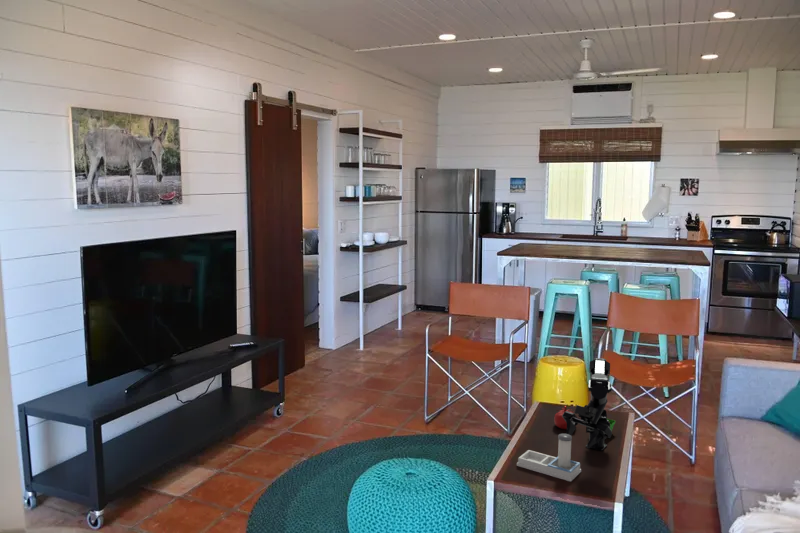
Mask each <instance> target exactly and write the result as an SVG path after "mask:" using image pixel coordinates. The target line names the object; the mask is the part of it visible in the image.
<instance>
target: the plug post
mask: <svg viewBox="0 0 800 533" xmlns="http://www.w3.org/2000/svg"><path fill="white" fill-rule="evenodd" d="M557 437H558V446H557V447H558V449H557V451H558V453H557V457H558V467H561V468H564V469H568V470H570V460H571V457H572V440H573V436H572V435H569V434H566V433H559V434H558V435H557Z"/></svg>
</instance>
